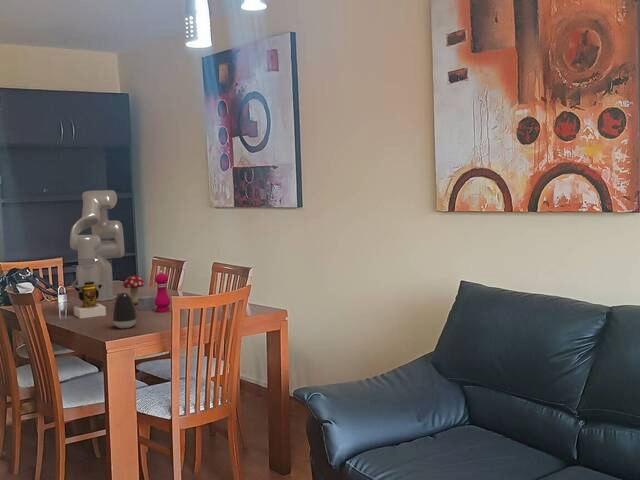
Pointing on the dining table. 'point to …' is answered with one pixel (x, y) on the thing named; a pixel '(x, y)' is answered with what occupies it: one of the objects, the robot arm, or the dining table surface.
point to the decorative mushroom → (134, 286)
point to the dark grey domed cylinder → (124, 311)
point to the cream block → (89, 311)
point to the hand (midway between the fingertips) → (89, 299)
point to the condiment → (89, 295)
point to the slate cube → (146, 303)
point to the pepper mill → (161, 293)
